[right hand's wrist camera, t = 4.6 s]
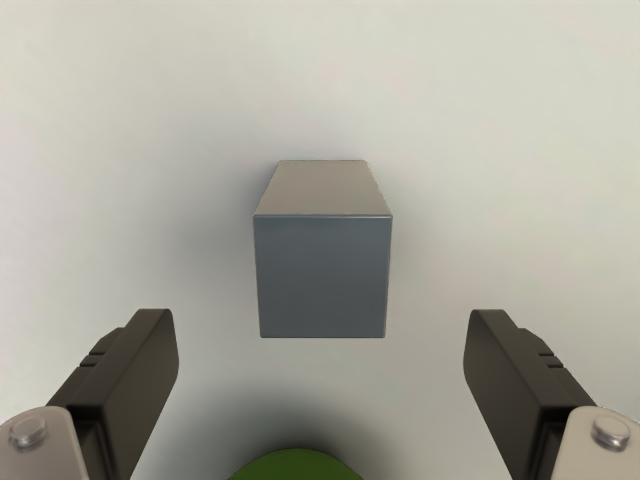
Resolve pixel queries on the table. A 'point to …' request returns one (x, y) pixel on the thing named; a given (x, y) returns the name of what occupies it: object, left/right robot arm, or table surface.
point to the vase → (296, 467)
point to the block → (322, 252)
